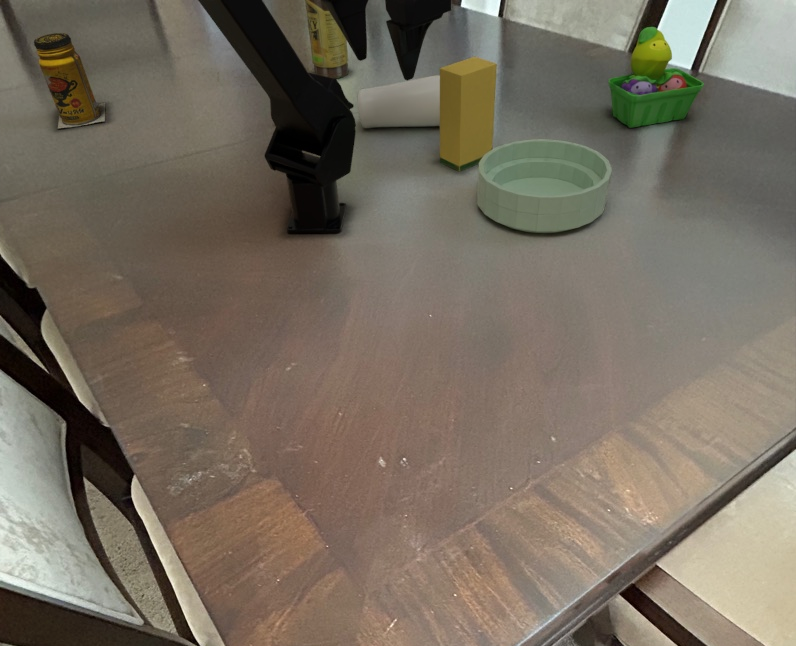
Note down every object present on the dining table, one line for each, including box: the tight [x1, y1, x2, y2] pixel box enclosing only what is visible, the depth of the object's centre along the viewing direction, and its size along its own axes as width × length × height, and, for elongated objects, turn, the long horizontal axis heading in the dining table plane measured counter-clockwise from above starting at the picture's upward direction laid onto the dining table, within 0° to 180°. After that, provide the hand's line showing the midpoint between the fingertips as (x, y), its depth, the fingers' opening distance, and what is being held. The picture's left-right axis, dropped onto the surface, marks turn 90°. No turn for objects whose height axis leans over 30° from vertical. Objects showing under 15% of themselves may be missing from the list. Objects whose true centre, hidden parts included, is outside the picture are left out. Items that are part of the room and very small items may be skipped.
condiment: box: [33, 32, 106, 129], centre depth 105 cm, size 7×8×12 cm
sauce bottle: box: [304, 0, 349, 80], centre depth 112 cm, size 6×6×20 cm
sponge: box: [439, 56, 498, 172], centre depth 87 cm, size 6×4×12 cm, turn 129°
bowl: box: [476, 138, 613, 234], centre depth 80 cm, size 15×15×5 cm
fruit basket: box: [608, 26, 705, 129], centre depth 95 cm, size 11×9×11 cm
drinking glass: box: [357, 74, 440, 129], centre depth 99 cm, size 7×7×15 cm
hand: (385, 69), depth 80 cm, fingers open, 9 cm apart
